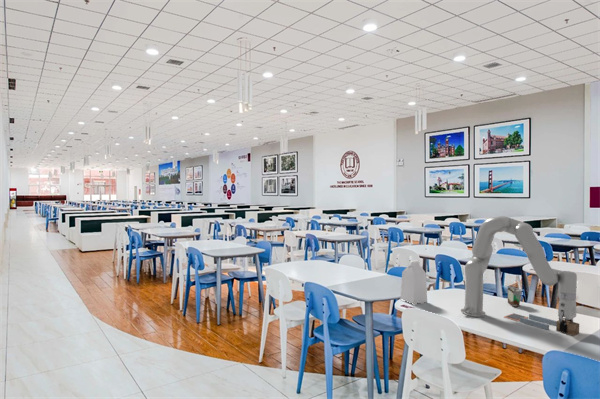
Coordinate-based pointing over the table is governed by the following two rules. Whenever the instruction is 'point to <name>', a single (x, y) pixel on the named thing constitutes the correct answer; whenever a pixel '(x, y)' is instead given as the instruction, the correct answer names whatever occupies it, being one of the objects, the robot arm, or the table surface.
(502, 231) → the robot arm
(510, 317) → the pad
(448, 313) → the table surface
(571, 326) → the walnut block
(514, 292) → the food container
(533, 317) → the channel
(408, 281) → the milk
